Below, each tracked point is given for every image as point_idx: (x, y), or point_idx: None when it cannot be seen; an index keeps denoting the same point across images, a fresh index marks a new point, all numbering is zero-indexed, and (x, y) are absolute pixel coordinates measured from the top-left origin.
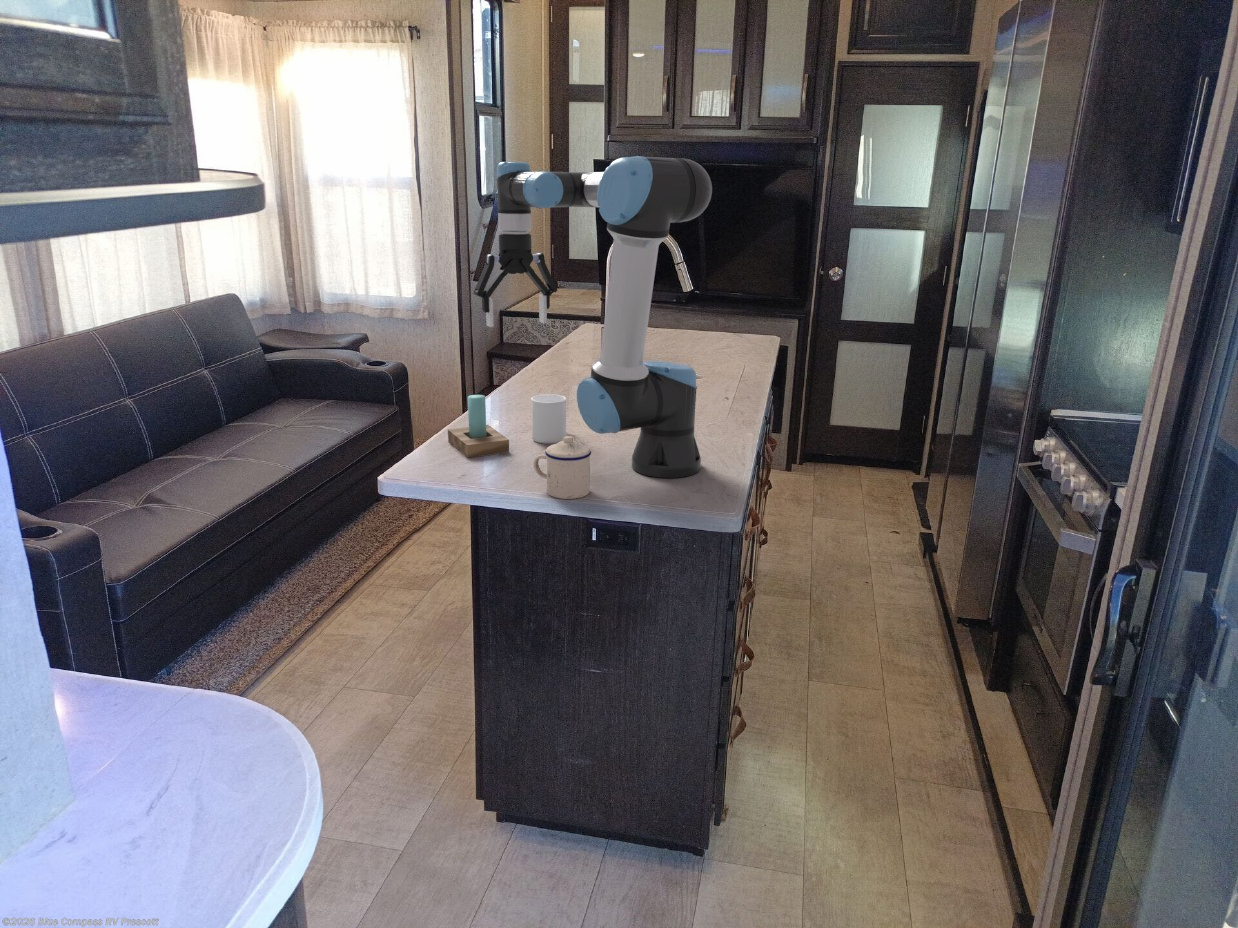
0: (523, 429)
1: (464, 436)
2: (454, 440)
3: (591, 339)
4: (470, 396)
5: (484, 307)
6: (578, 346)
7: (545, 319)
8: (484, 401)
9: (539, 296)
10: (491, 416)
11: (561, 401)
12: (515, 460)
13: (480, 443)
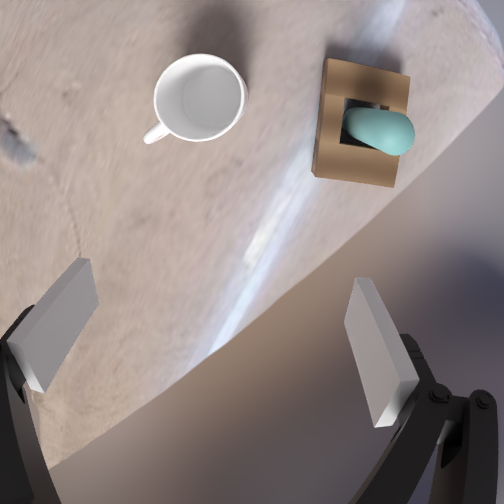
0: (228, 181)
1: None
2: None
3: None
4: (404, 145)
5: (420, 353)
6: (53, 451)
7: (74, 267)
8: (379, 114)
9: (45, 383)
10: (243, 285)
11: (182, 57)
12: (334, 17)
13: (386, 70)
